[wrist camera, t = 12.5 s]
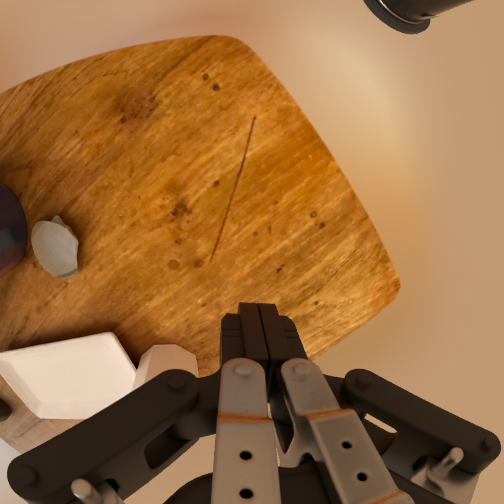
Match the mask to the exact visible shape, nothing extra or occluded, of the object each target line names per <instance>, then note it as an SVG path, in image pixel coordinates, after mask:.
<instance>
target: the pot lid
mask: <svg viewBox="0 0 504 504" xmlns="http://www.w3.org/2000/svg"><path fill="white" fill-rule="evenodd" d="M1 261H2V256H1V245H0V271H1Z"/></svg>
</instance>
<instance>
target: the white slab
mask: <svg viewBox="0 0 504 504" xmlns="http://www.w3.org/2000/svg"><path fill="white" fill-rule="evenodd" d="M136 372H137V370H136V368H135V367H134V365H133V363H132V362H131V360H130V358H129V357H128V355H127V353H126V351H125V350H124V348H123V347H122V345H121V343H120V342H119V340H118V338H117V337H116V335H115V334H114V333H112V332H104V333H100V334H94V335H89V336H85V337H80V338H74V339H69V340H64V341H58V342H53V343H47V344H41V345H36V346H30V347H25V348H20V349H15V350H10V351H4V352H0V374H1V375H2V376H3V377H4V379H5V380H6V381H7V383H8V384H9V385H10V387H11V388H12V389H13V390H14V391H15V393H16V394H17V395H18V396H19V397H20V399H21V400H22V401H23V402H24V403H25V404H26V405H27V406H28V408H29V409H30V410H31V411H32V412H33V413H34V414H35V415H36V416H38V417H39V418H47V419H87V418H89V417H91V416H92V415H94V414H96V413H97V412H99V411H101V410H102V409H104V408H106V407H107V406H109V405H111V404H112V403H114V402H116V401H117V400H119V399H121V398H122V397H124V396H125V395H127V394H129V393H130V392H131V390H132V386H133V383H134V379H135V376H136Z"/></svg>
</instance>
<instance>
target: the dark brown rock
mask: <svg viewBox="0 0 504 504" xmlns="http://www.w3.org/2000/svg"><path fill="white" fill-rule="evenodd" d="M10 415H11V411H10V409H9V408H8V407H7V406H6V405H5V403H4V402H2V401H1V400H0V422H2V421H5V420H6V419H7V418H8V417H9V416H10Z"/></svg>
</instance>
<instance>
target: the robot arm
mask: <svg viewBox="0 0 504 504" xmlns="http://www.w3.org/2000/svg"><path fill="white" fill-rule="evenodd" d="M376 1H377V2H378V3H379V5H380V6H381V7H382V8H383V9H384V10H385V11H386V12H387V13H389V14H390V15H391V16H392V17H394V18H395V19H397V20H399V21H401V22H403V23H406V24H410V25H416V24H419V23H421V22H423V21H424V20H426V19H429V18H435V17H437V16H435V15H438V14H440V13H442V12H445V11H447V10H450V9H452V8H454V7H457V6H460V5H462V4H465V3H468V2H470V1H473V0H376ZM219 353H220V369H219V370H218V371H217V372H215V373H214V374H212V375H210V376H206V377H201V378H197V377H196V376H195V375H194V374H192V373H191V372H189V371H186V370H182V369H170V370H166V371H163V372H162V373H160V374H158V375H157V376H155V377H154V378H152V379H151V380H149V381H148V382H146V383H144V384H143V385H141V386H140V387H138V388H137V389H135V390H133V391H132V392H130V393H129V394H127V395H125V396H124V397H122V398H121V399H119V400H117V401H116V402H114V403H112V404H111V405H109V406H107V407H106V408H104V409H102V410H101V411H99V412H97V413H96V414H94V415H92V416H91V417H89V418H87V419H86V420H84V421H82V422H80V423H79V424H77V425H75V426H73V427H72V428H70V429H68V430H66V431H65V432H63V433H61V434H59V435H57V436H56V437H54V438H52V439H50V440H48V441H47V442H45V443H43V444H41V445H39V446H37V447H35V448H33V449H32V450H30V451H28V452H26V453H24V454H22V455H20V456H18V457H16V458H15V459H13V460H12V461H11V463H10V464H9V466H8V470H7V478H8V482H9V484H10V486H11V488H12V489H13V491H14V492H15V493H16V494H18V495H19V496H20V497H21V498H23V499H24V500H25V501H26V502H28V503H29V504H125V503H124V502H123V500H125V499H126V498H128V497H129V496H130V495H132V494H133V493H135V492H136V491H137V490H139V489H140V488H141V487H143V486H144V485H145V484H146V483H148V482H149V481H150V480H152V479H153V478H154V477H155V476H157V475H158V474H159V473H161V472H162V471H163V470H164V469H165V468H167V467H168V466H169V465H170V464H172V463H173V462H174V461H175V460H176V459H178V457H180V456H181V455H182V454H183V453H185V452H186V451H187V450H188V449H189V448H190V447H191V446H193V445H194V444H195V443H196V442H197V441H198V440H199V438H200V437H204V436H208V435H213V434H216V440H215V452H214V467H213V472H212V473H209V474H205V475H202V476H200V477H197V478H195V479H193V480H191V481H190V482H188V483H186V484H185V485H183V486H182V487H181V488H179V489H178V490H177V491H176V492H175V493H174V494H173V495H172V496H171V497H170V498H168V499H167V500H166V501H165V502H164V503H163V504H470V501H471V499H472V496H473V493H474V490H475V487H476V484H477V481H478V478H479V475H480V473H481V472H482V471H483V470H484V469H485V468H486V467H487V466H488V465H489V464H490V463H491V462H493V461H494V460H495V459H496V458H497V457H498V456H499V454H500V452H501V444H500V441H499V439H498V437H497V436H496V435H495V434H494V433H492V432H490V431H488V430H486V429H484V428H481V427H479V426H477V425H475V424H473V423H471V422H469V421H466V420H464V419H462V418H460V417H458V416H456V415H454V414H452V413H450V412H448V411H446V410H444V409H441V408H440V407H438V406H436V405H434V404H432V403H430V402H428V401H426V400H424V399H422V398H420V397H418V396H416V395H414V394H412V393H410V392H408V391H406V390H404V389H402V388H401V387H399V386H397V385H395V384H393V383H391V382H389V381H387V380H385V379H384V378H382V377H380V376H378V375H376V374H374V373H373V372H371V371H368V370H365V369H353V370H351V371H349V372H348V373H347V374H346V376H345V378H340V377H333V376H328V375H325V374H322V372H321V370H320V368H319V367H318V366H317V365H316V364H315V363H313V362H312V361H309V360H308V358H307V355H306V353H305V350H304V347H303V345H302V342H301V340H300V339H299V334H298V332H297V329H296V327H295V324H294V322H293V321H292V320H291V319H289V318H288V317H287V316H279V315H278V311H277V308H276V305H275V304H265V303H243V302H239V305H238V314H230V313H226V315H225V316H224V317H223V319H222V320H221V333H220V348H219ZM267 403H269V404H270V413H269V416H268V406H267ZM367 413H368V414H369V415H371V416H373V417H375V418H376V419H378V420H380V421H382V422H383V423H385V424H387V425H389V426H391V427H392V428H394V429H395V430H396V431H397V432H396V433H390V432H387V431H385V430H384V429H382V428H380V427H378V426H377V425H375V424H373V423H371V422H369V421H368V420H366V419H364V418H365V416H366V414H367ZM276 448H277V451H278V454H279V458H280V467H278V464H277V453H276Z"/></svg>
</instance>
